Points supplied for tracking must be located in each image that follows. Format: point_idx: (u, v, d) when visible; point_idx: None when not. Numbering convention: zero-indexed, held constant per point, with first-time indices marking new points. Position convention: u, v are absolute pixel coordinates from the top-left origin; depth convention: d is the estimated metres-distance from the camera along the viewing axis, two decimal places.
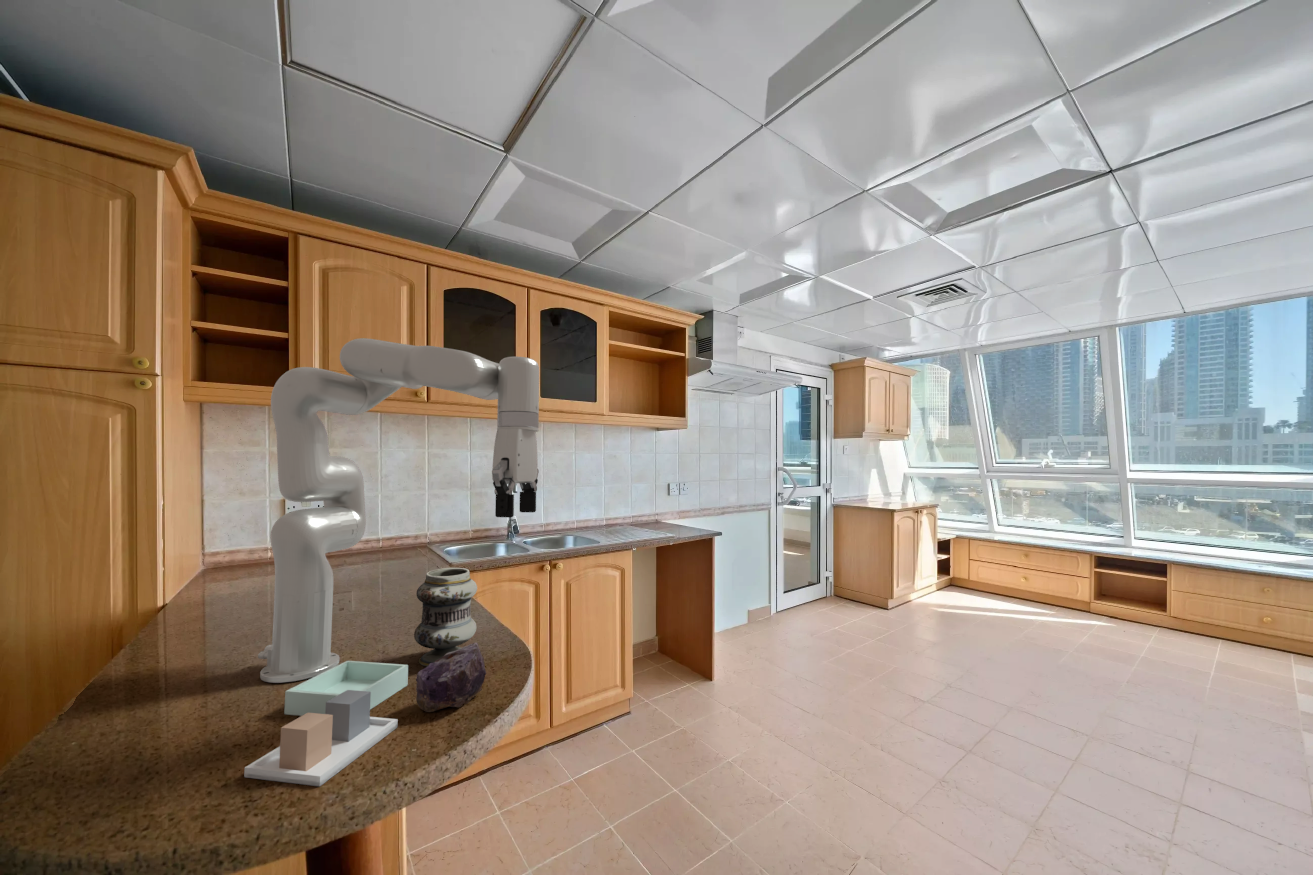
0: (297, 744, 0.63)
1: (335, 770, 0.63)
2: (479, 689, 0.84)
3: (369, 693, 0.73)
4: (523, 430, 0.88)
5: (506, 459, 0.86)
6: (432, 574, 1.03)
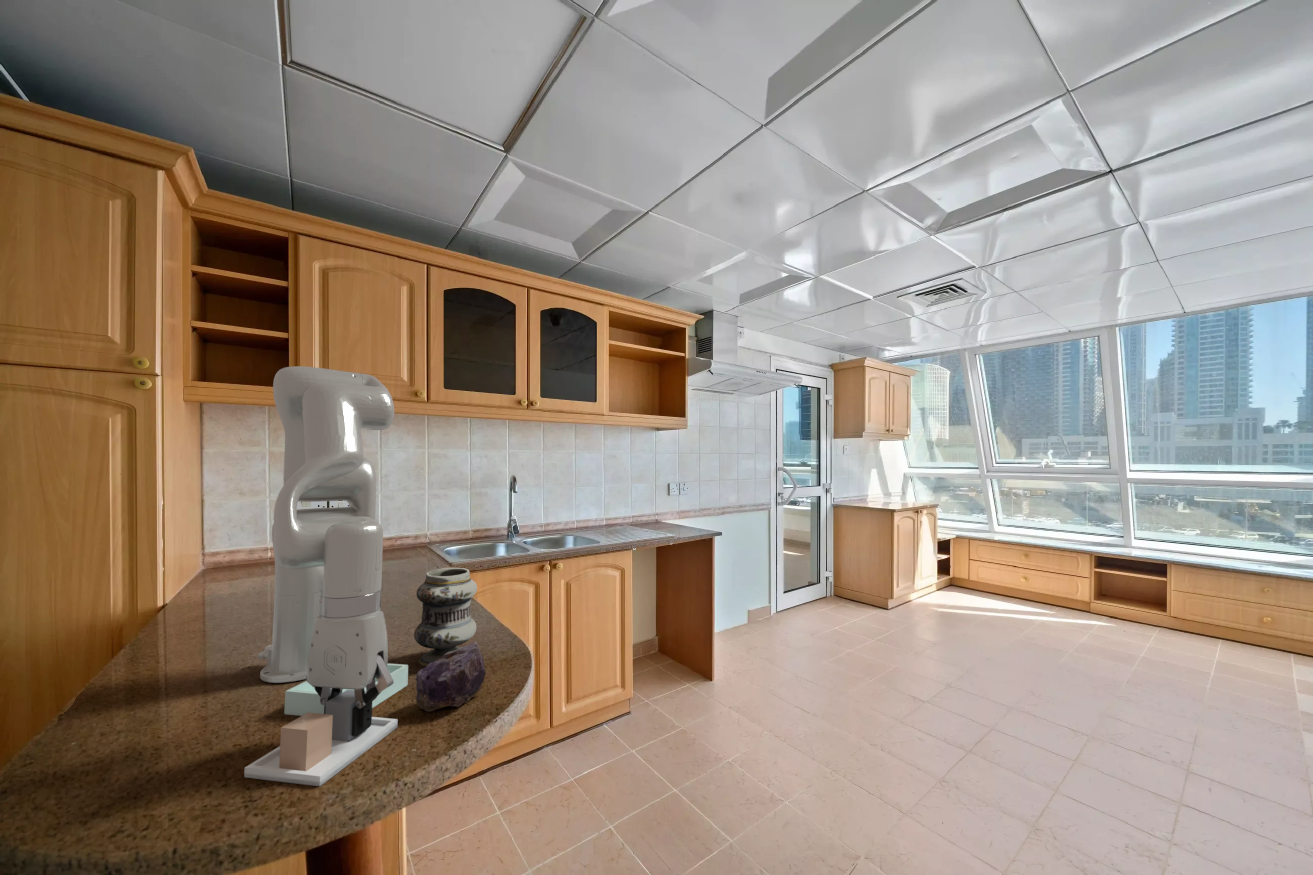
0: (297, 744, 0.63)
1: (335, 770, 0.63)
2: (479, 689, 0.84)
3: None
4: None
5: (381, 652, 0.72)
6: (432, 574, 1.03)
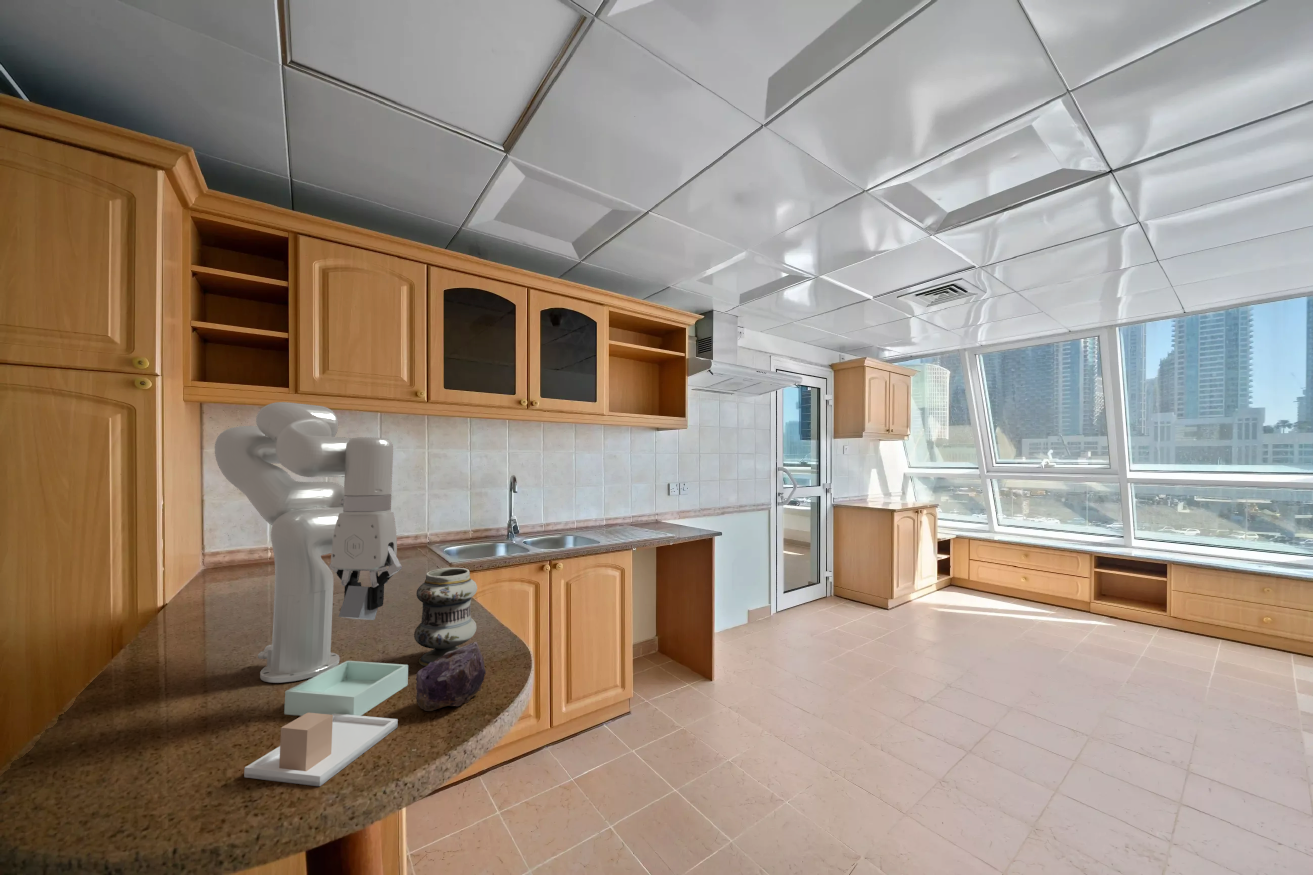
0: (297, 744, 0.63)
1: (335, 770, 0.63)
2: (479, 688, 0.84)
3: None
4: None
5: (391, 544, 0.87)
6: (432, 574, 1.03)
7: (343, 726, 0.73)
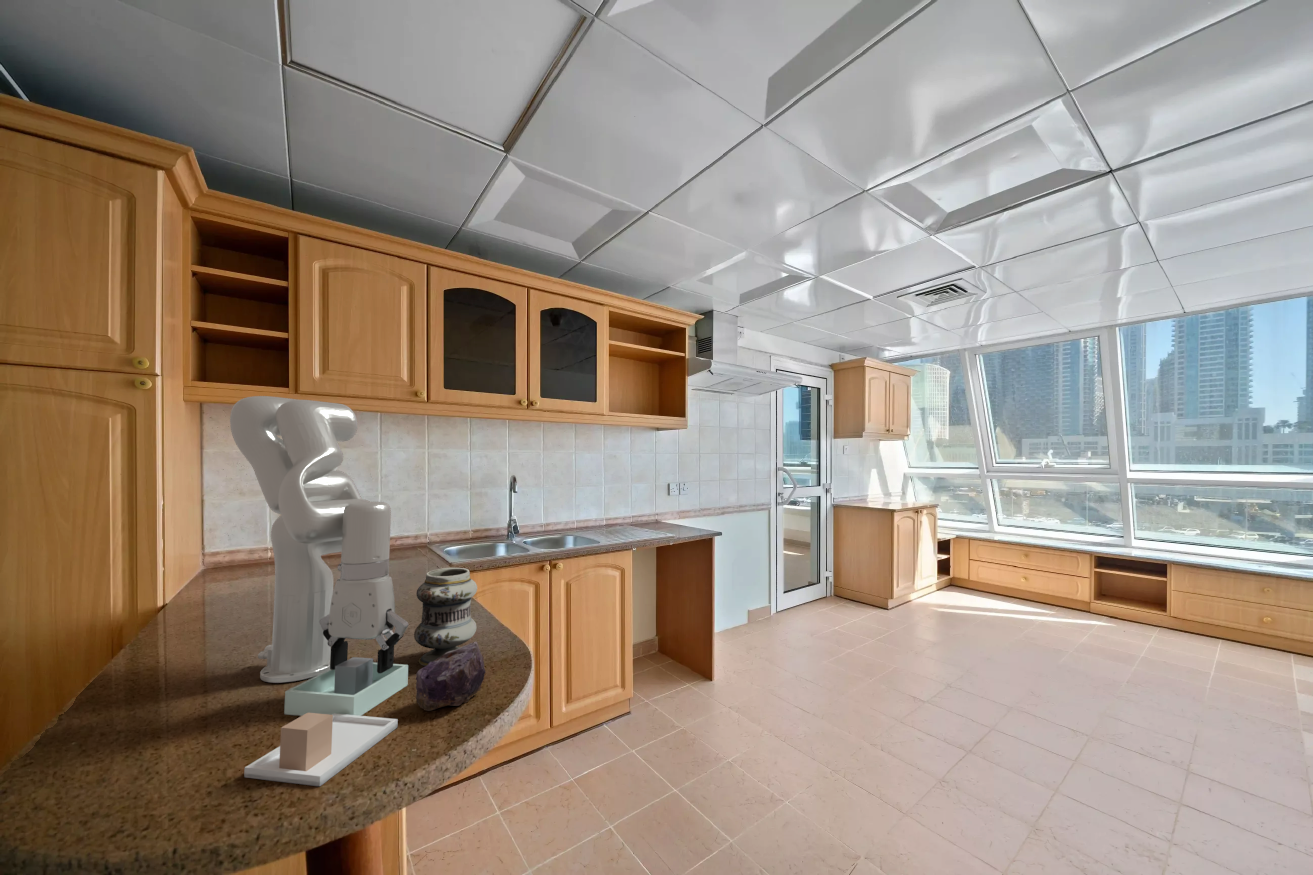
0: (297, 744, 0.63)
1: (335, 770, 0.63)
2: (478, 688, 0.84)
3: (372, 659, 0.86)
4: None
5: (389, 610, 0.86)
6: (432, 574, 1.03)
7: (343, 726, 0.73)
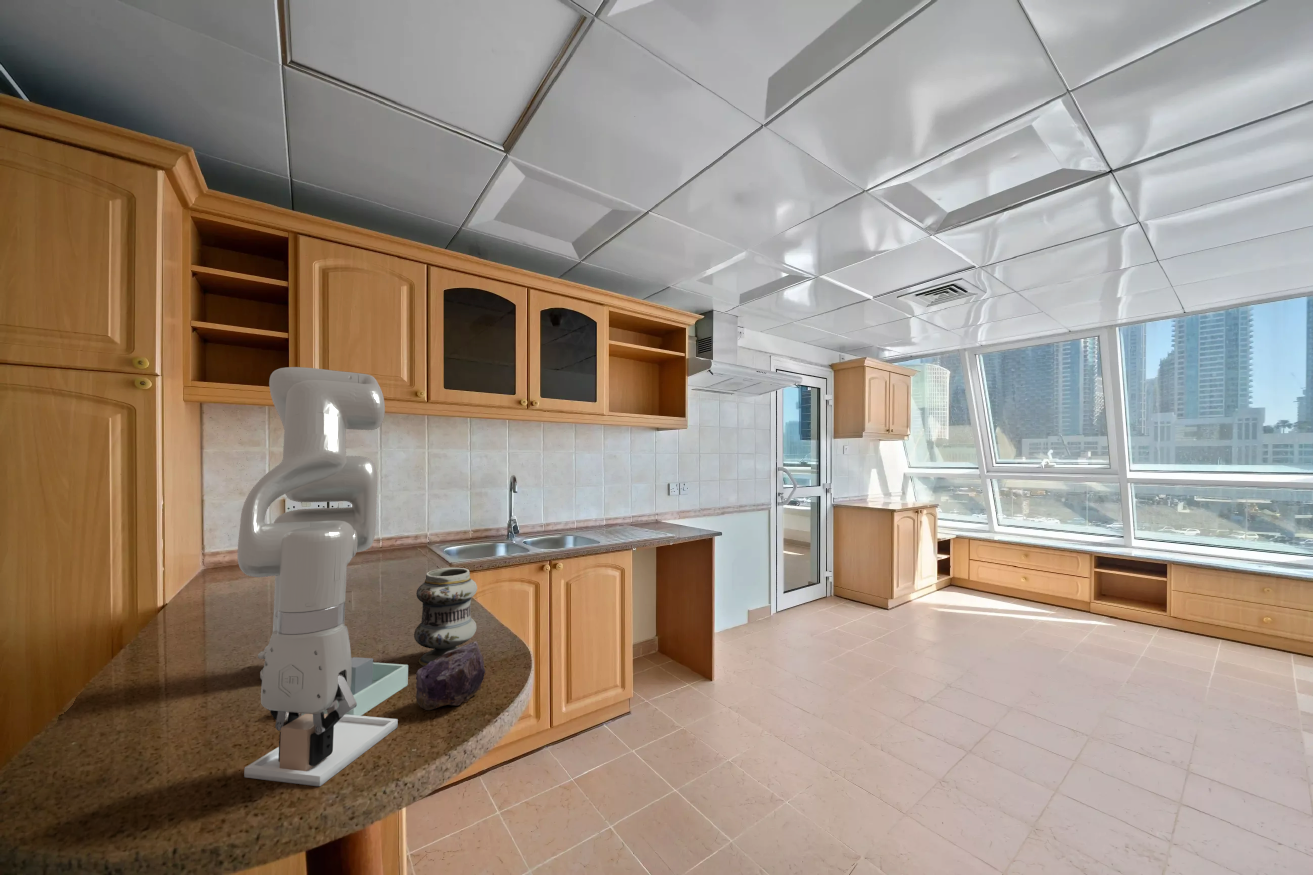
0: (297, 744, 0.63)
1: (335, 770, 0.63)
2: (478, 688, 0.84)
3: (372, 659, 0.86)
4: None
5: (343, 672, 0.65)
6: (432, 574, 1.03)
7: (343, 726, 0.73)
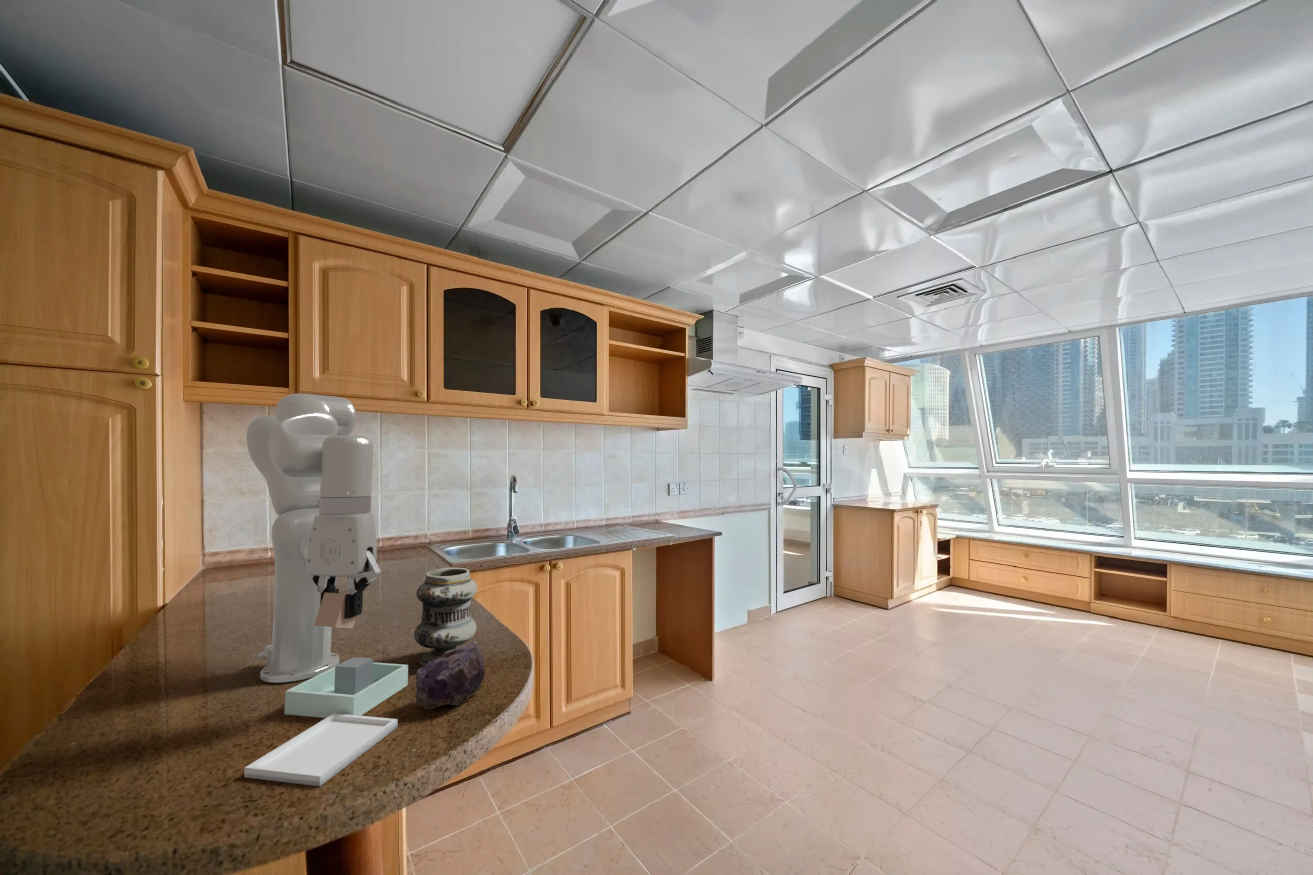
0: (334, 605, 0.80)
1: (335, 770, 0.63)
2: (478, 687, 0.84)
3: (372, 659, 0.86)
4: None
5: (371, 548, 0.82)
6: (432, 574, 1.03)
7: (343, 726, 0.73)
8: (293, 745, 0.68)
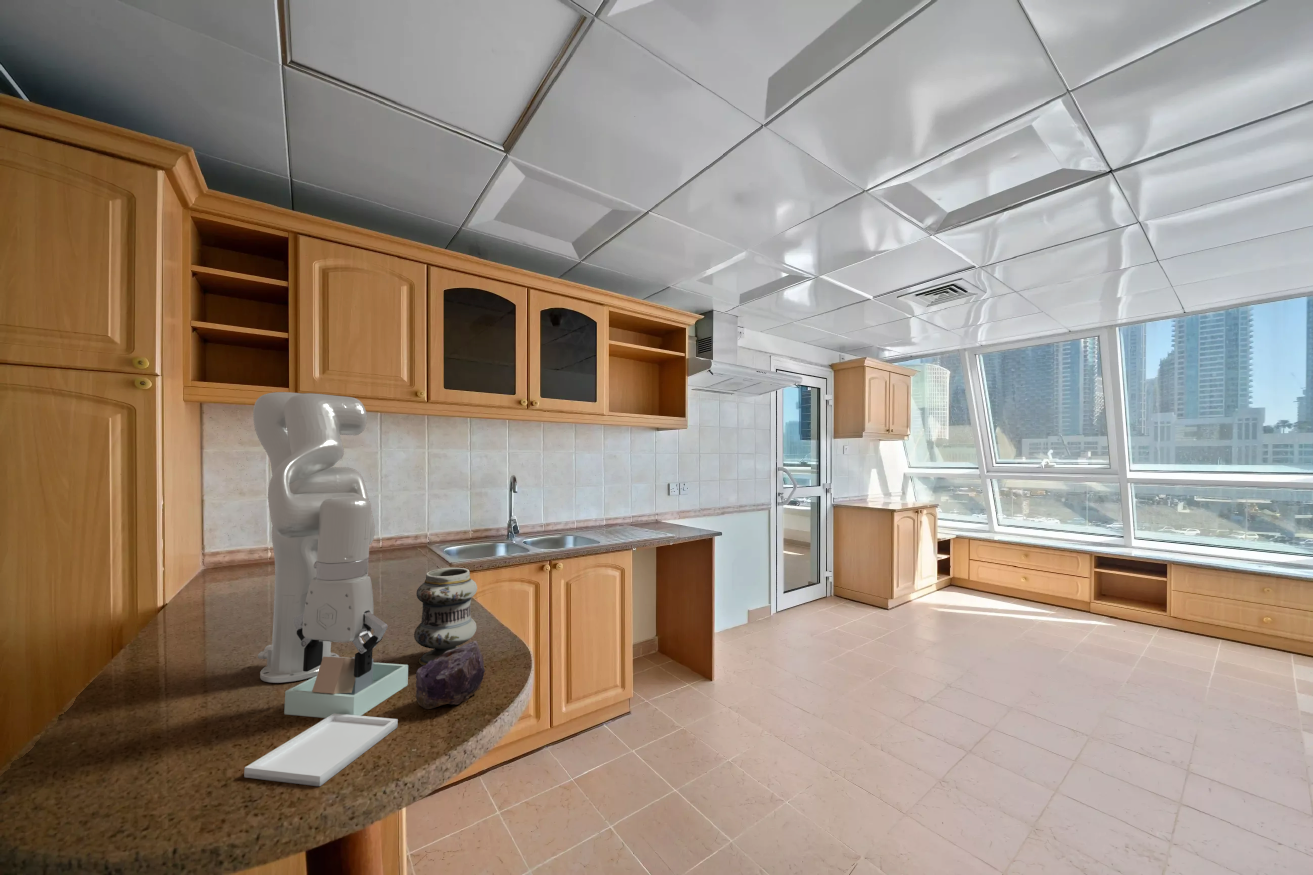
0: (333, 670, 0.79)
1: (335, 770, 0.63)
2: (478, 687, 0.84)
3: (372, 659, 0.86)
4: None
5: (367, 612, 0.82)
6: (432, 574, 1.03)
7: (343, 726, 0.73)
8: (293, 745, 0.68)
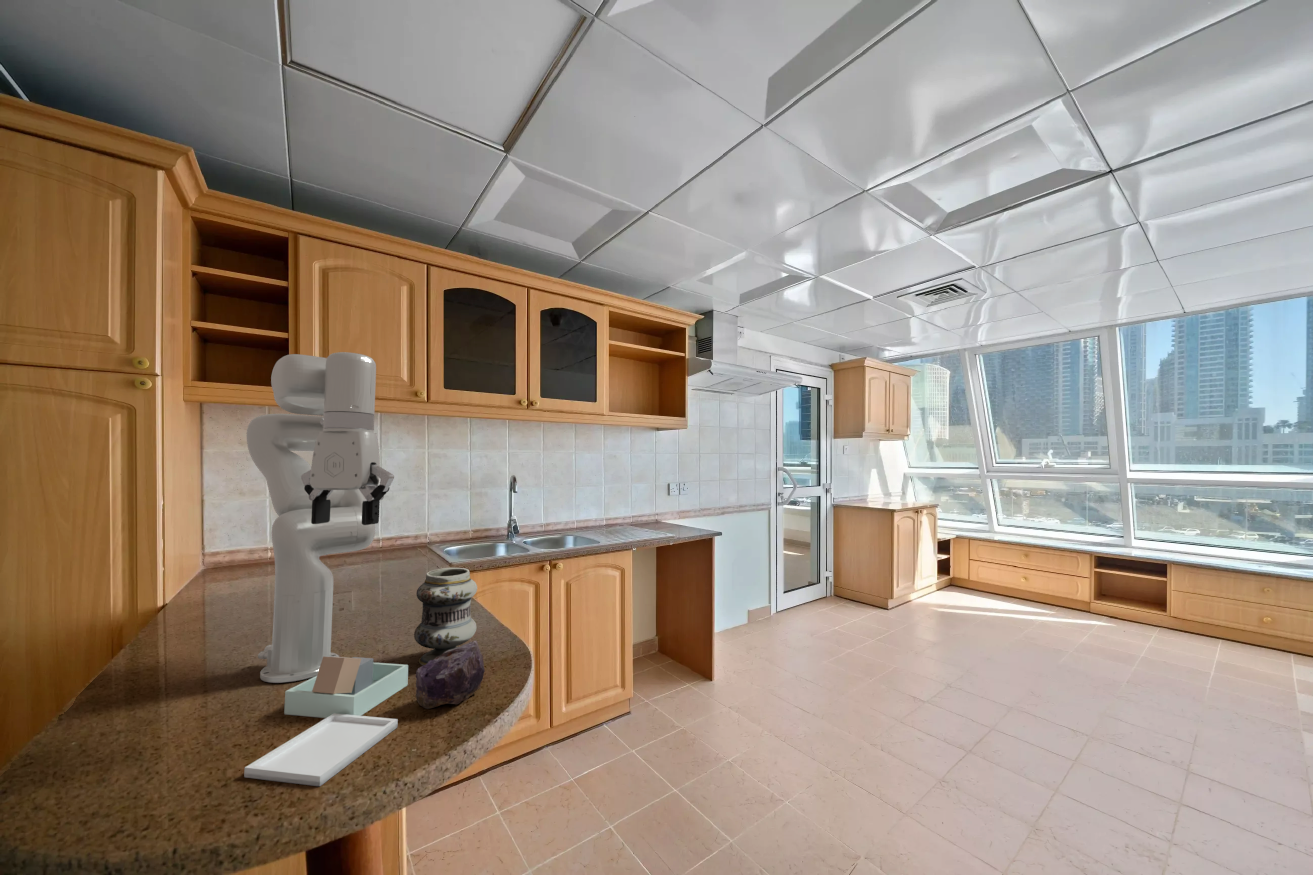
0: (333, 670, 0.79)
1: (335, 770, 0.63)
2: (478, 687, 0.85)
3: (372, 659, 0.86)
4: None
5: (374, 464, 0.83)
6: (432, 574, 1.03)
7: (343, 726, 0.73)
8: (293, 745, 0.68)
